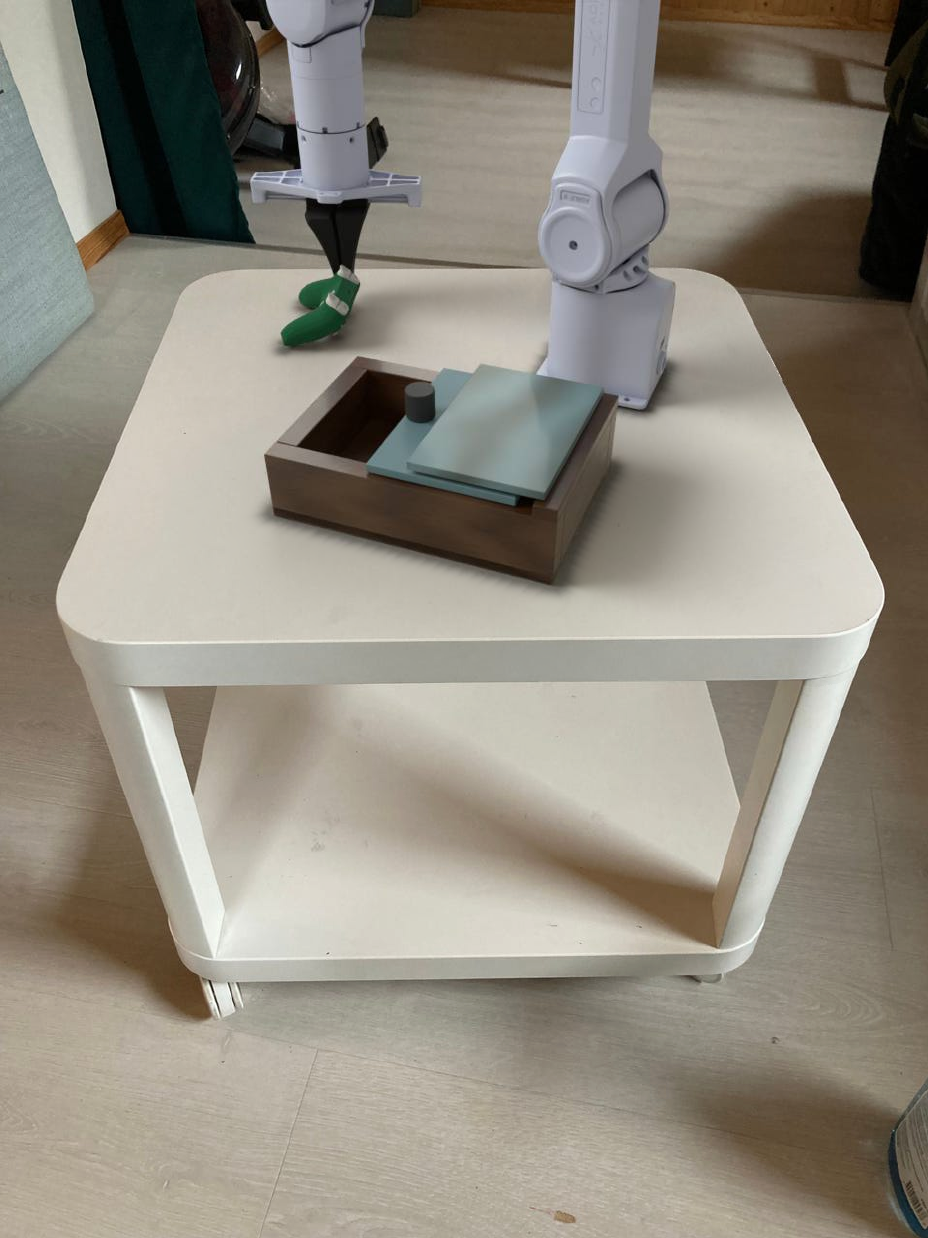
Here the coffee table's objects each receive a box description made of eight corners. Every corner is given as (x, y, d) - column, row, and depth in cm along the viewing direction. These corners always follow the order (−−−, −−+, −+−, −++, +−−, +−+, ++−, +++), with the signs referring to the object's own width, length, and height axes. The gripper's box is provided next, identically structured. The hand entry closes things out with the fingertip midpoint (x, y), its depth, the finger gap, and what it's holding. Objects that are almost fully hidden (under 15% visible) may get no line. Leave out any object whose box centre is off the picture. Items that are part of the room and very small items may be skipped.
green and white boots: (308, 370, 85) (353, 327, 82) (274, 339, 83) (318, 294, 80) (328, 320, 92) (371, 279, 88) (297, 291, 90) (339, 248, 87)
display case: (610, 466, 71) (620, 386, 67) (552, 585, 62) (558, 501, 57) (362, 413, 77) (355, 335, 72) (273, 515, 67) (259, 433, 63)
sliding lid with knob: (576, 401, 68) (579, 367, 66) (515, 506, 59) (516, 470, 58) (443, 374, 71) (443, 341, 69) (366, 471, 62) (363, 436, 60)
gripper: (232, 137, 78) (257, 298, 87) (414, 140, 77) (419, 303, 87) (252, 109, 83) (274, 265, 92) (422, 112, 82) (427, 269, 92)
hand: (345, 281), depth 90 cm, fingers closed
